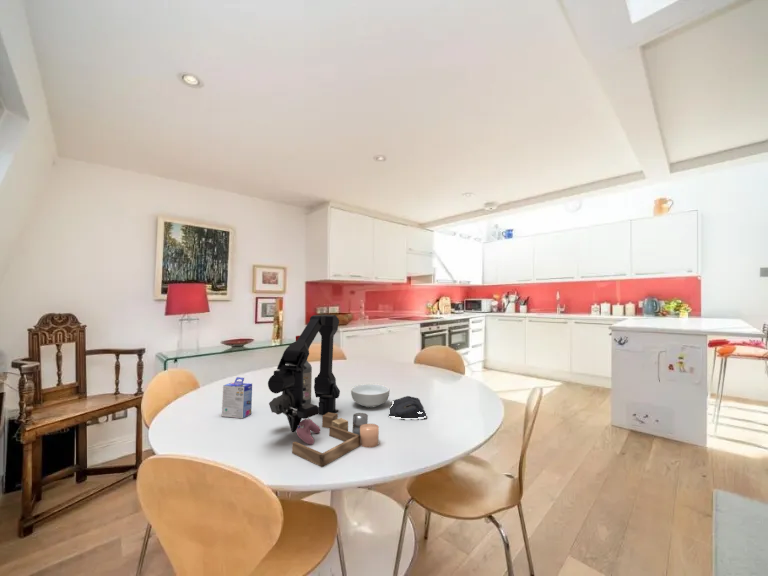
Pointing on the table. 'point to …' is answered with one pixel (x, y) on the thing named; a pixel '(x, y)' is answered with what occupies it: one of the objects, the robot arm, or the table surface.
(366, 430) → the peach cylinder puck
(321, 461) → the frame
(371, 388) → the cereal bowl
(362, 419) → the dark tin
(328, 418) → the walnut cube
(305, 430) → the video game controller
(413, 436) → the table surface
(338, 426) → the oak cube
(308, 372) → the liquor
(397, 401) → the dark slate chunk
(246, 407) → the ink cartridge box
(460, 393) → the table surface
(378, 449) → the table surface
